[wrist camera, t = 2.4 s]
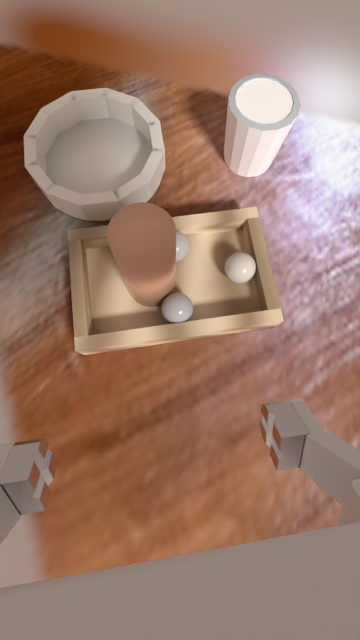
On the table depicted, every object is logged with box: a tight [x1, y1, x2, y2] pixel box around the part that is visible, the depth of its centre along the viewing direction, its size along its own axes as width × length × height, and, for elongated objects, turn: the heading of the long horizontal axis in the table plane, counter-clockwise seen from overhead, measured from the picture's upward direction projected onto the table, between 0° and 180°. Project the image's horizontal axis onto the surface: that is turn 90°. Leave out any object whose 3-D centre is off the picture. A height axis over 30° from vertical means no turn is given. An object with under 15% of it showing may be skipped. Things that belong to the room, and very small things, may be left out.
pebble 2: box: [161, 292, 193, 324], centre depth 29 cm, size 3×3×3 cm
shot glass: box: [224, 74, 300, 177], centre depth 32 cm, size 7×7×7 cm
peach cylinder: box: [107, 202, 176, 307], centre depth 26 cm, size 5×5×10 cm
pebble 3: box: [225, 252, 256, 283], centre depth 30 cm, size 3×3×3 cm
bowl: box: [24, 88, 165, 222], centre depth 33 cm, size 14×14×3 cm
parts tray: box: [67, 207, 283, 355], centre depth 30 cm, size 19×12×3 cm, turn 98°
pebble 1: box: [176, 231, 189, 262], centre depth 30 cm, size 3×3×3 cm
